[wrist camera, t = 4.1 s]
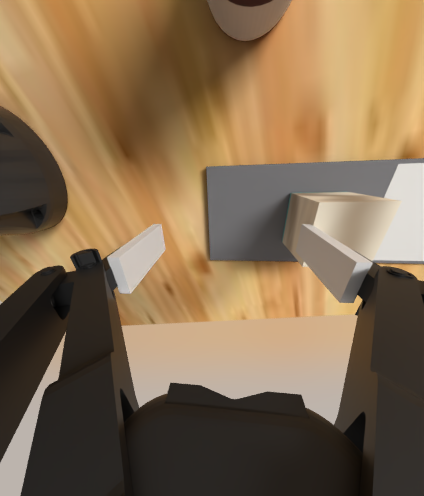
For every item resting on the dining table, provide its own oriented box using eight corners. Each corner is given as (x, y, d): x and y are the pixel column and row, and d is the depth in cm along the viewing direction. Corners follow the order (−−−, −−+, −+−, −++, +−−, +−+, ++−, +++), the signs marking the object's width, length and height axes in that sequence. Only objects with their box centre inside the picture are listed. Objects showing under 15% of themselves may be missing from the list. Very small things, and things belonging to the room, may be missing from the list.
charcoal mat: (210, 257, 23) (210, 260, 23) (207, 166, 18) (206, 166, 17) (437, 260, 21) (445, 264, 20) (510, 155, 15) (525, 154, 15)
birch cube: (281, 241, 20) (302, 266, 15) (290, 192, 18) (319, 202, 12) (330, 241, 20) (369, 267, 15) (346, 191, 17) (401, 201, 12)
